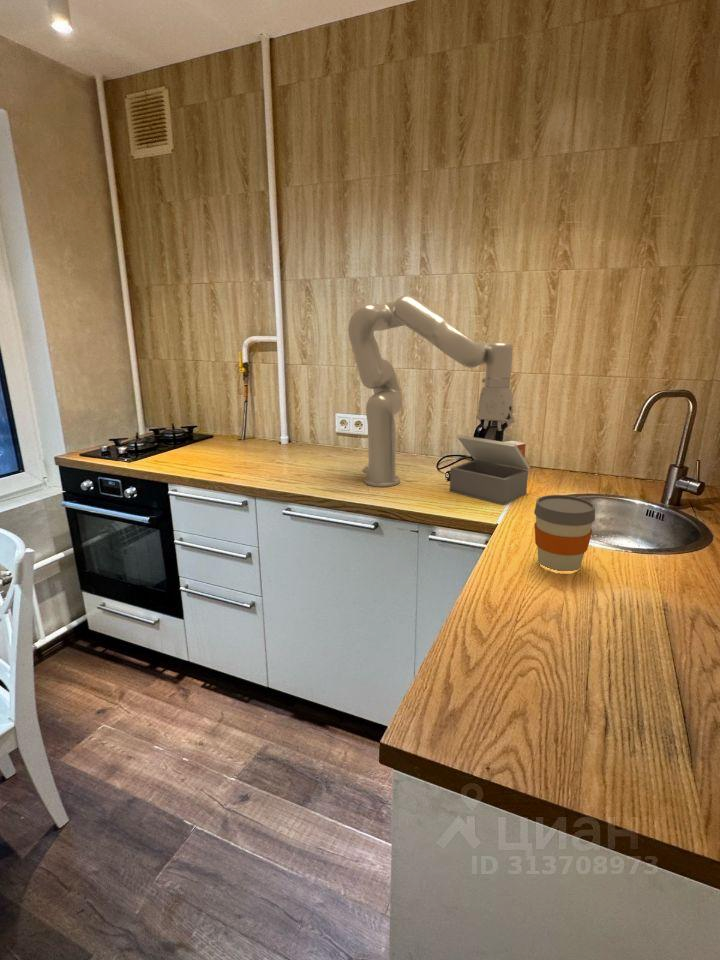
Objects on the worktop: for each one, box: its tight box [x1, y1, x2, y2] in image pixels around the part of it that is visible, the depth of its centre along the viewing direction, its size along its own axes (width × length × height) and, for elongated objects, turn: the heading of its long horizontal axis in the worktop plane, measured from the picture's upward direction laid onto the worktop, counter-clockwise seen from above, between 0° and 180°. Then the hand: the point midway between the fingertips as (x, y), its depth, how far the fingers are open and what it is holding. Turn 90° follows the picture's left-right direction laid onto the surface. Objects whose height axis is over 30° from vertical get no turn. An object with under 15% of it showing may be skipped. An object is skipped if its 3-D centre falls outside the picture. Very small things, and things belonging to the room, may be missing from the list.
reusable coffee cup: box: [533, 494, 596, 571], centre depth 115 cm, size 13×13×15 cm
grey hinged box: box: [449, 459, 529, 506], centre depth 167 cm, size 20×14×8 cm
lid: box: [457, 427, 531, 471], centre depth 166 cm, size 20×14×6 cm
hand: (493, 440), depth 164 cm, fingers closed on lid, 3 cm apart
